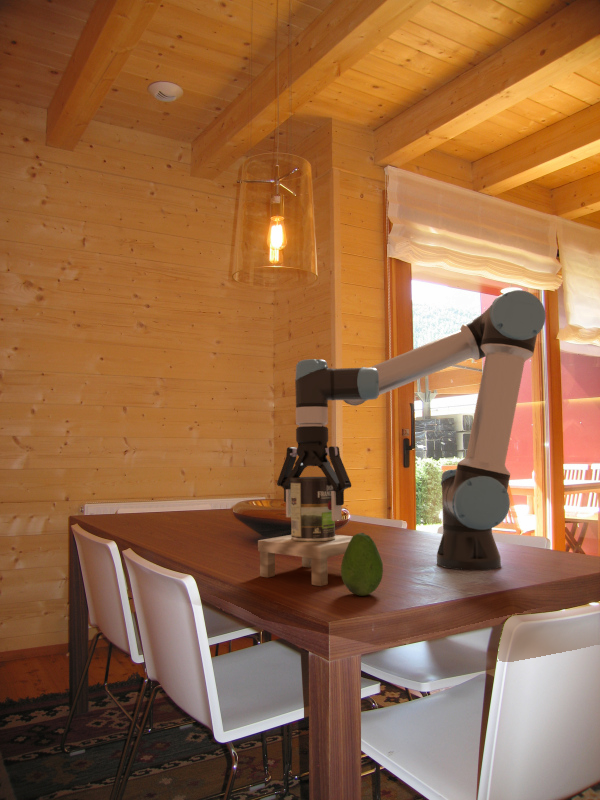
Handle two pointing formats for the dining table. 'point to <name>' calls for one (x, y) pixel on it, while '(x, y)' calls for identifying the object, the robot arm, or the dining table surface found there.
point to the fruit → (361, 565)
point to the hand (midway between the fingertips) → (313, 518)
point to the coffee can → (311, 509)
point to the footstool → (302, 554)
